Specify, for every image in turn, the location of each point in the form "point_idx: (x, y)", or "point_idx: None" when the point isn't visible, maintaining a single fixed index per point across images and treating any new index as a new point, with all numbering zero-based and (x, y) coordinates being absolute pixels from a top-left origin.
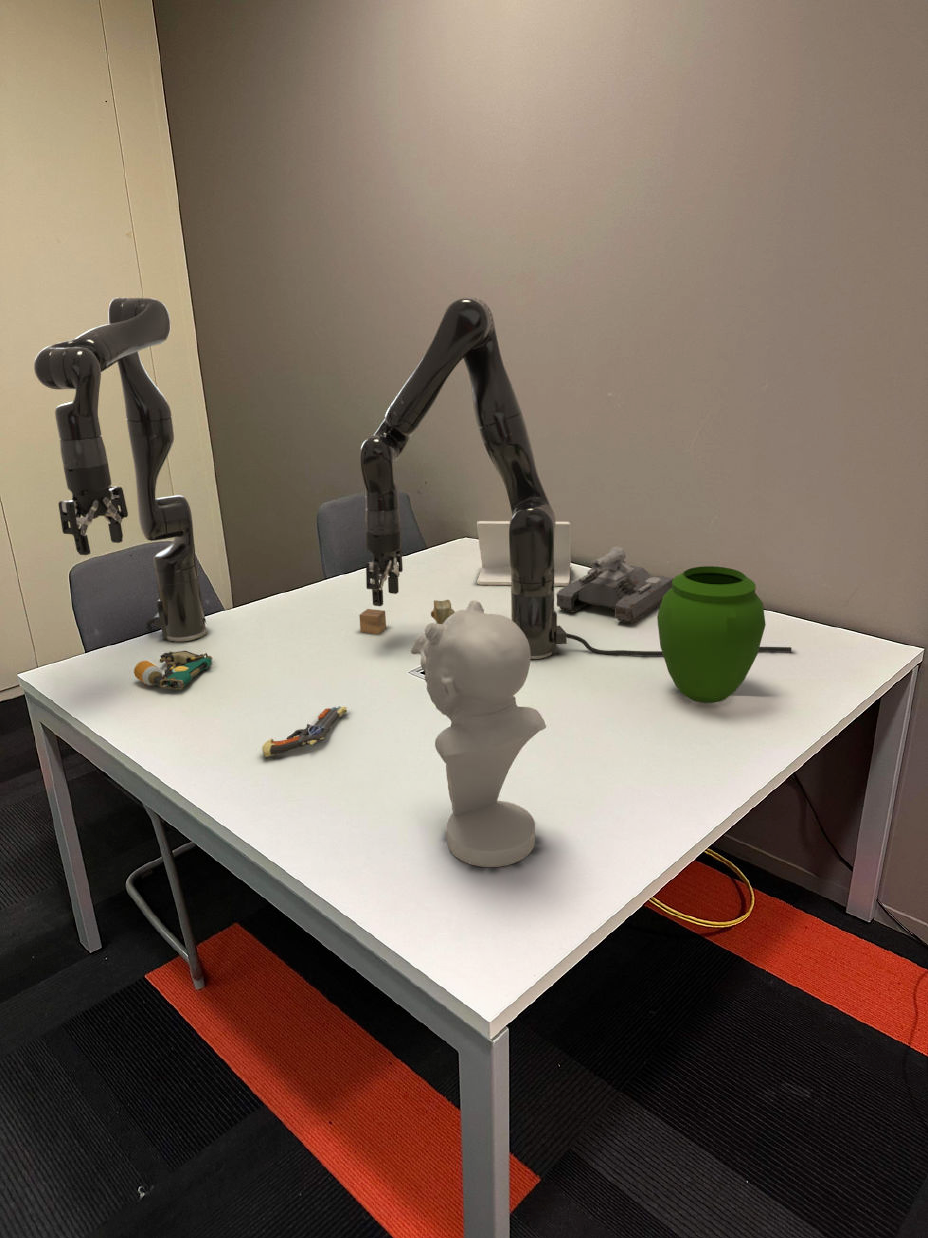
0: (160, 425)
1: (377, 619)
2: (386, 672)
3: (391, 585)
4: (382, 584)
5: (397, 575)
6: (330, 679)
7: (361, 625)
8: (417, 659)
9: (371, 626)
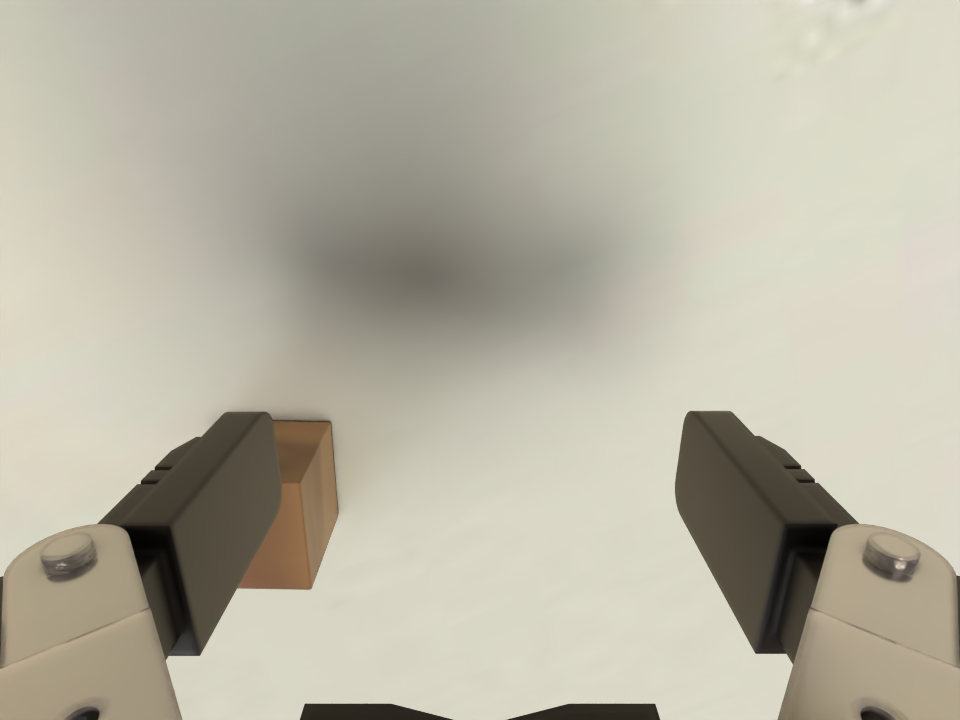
0: None
1: (305, 472)
2: (864, 150)
3: (242, 528)
4: (873, 587)
5: (127, 555)
6: (957, 406)
7: (328, 534)
8: (641, 24)
9: (323, 481)
